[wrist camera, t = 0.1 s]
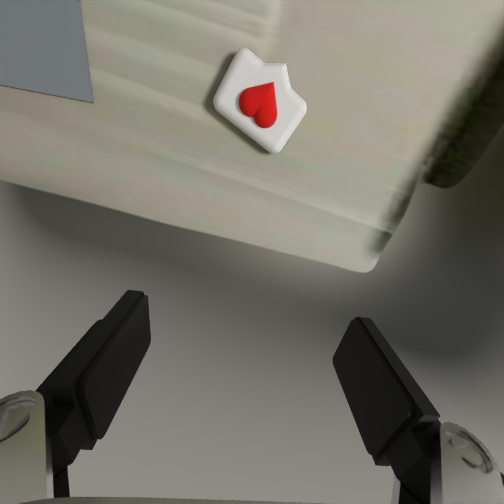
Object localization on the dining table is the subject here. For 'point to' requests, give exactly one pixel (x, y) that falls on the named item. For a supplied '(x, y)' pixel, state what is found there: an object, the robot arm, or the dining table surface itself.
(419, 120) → the dining table surface
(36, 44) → the mat
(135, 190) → the dining table surface
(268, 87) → the icon
